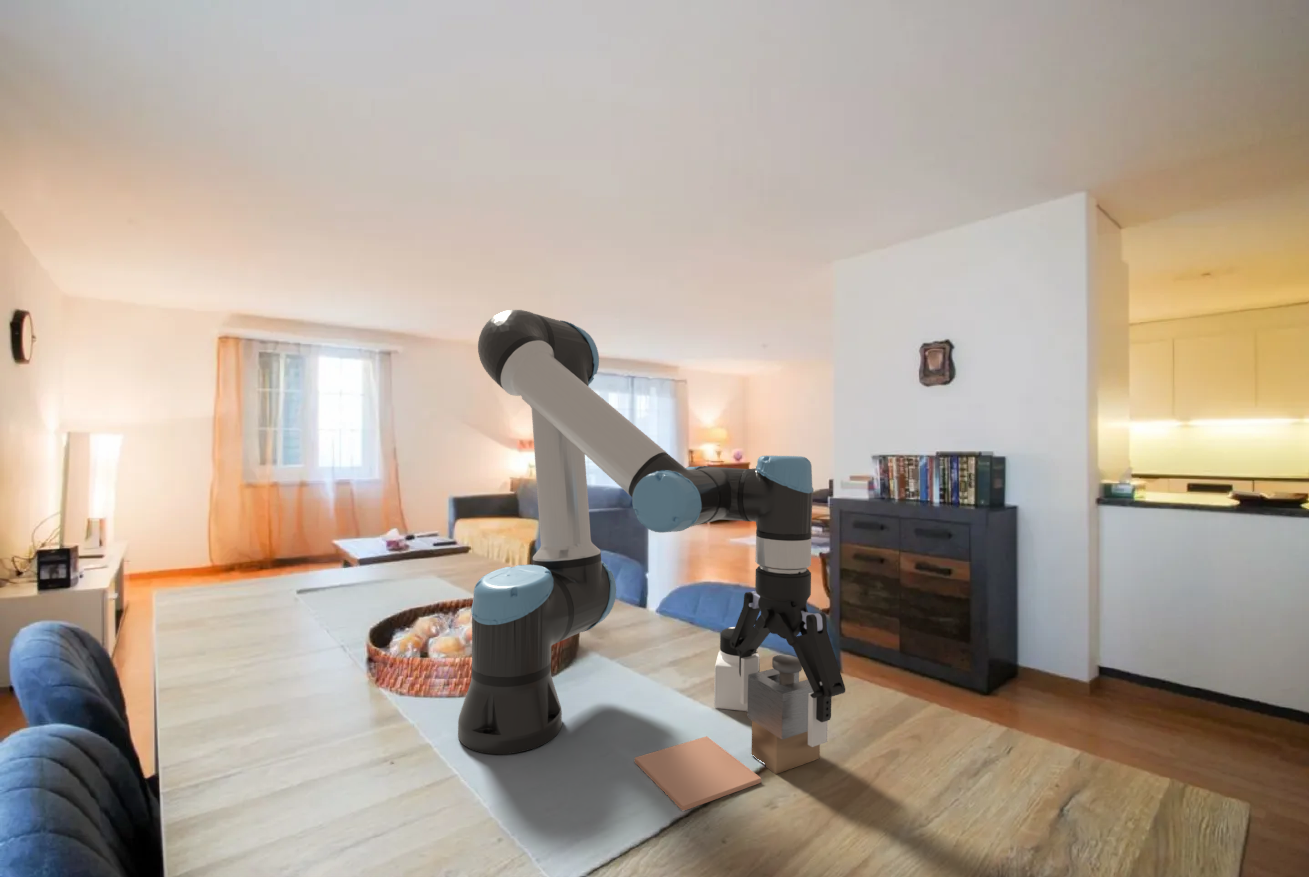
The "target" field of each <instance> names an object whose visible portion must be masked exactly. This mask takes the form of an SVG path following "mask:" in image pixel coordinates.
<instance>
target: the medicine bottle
mask: <svg viewBox="0 0 1309 877" xmlns="http://www.w3.org/2000/svg"><path fill="white" fill-rule="evenodd" d="M735 627H736V626H731V627H727V628H725V629H723V630H721V631H720V634H719V637H720V638H719V641H720V643H719V645H720V646H719V651H718V652H717V657H716V661H715V665H714V691H713V692H714V694H713V695H714V698H713V701H714V702H713V706H714V708H715V709H720V710H721V709H722V710H728V711H729V710H731V711H738V712H747V713H748V703H746V704H742V703H741V702H740V691H741V677H740V674H739V656H738V654H737V650H736V649H735V648H731V647H730V640H731V637H732V634H733V632H734V629H735ZM740 638H741V637H740ZM755 652H757V651H755ZM753 655H756V656H758V672H761V670H760V669H761V668H760V664H761V663H760V662H761V661H760V660H761V656H760V654H759V653H754V654H752V656H753Z"/></svg>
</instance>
